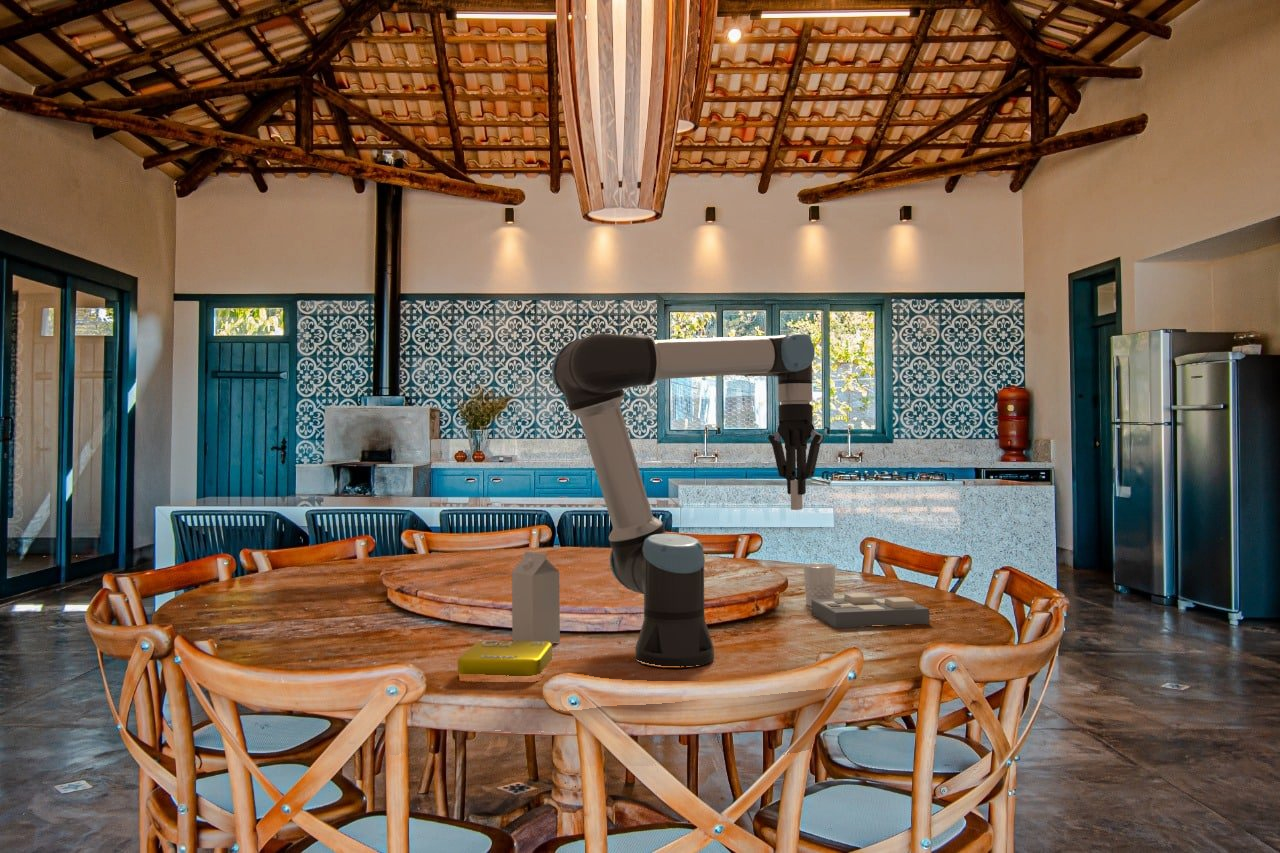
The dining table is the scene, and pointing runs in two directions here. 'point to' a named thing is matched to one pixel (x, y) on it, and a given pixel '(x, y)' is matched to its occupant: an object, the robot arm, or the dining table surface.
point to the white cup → (819, 581)
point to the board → (866, 613)
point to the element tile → (506, 658)
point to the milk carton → (535, 600)
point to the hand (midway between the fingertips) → (796, 509)
